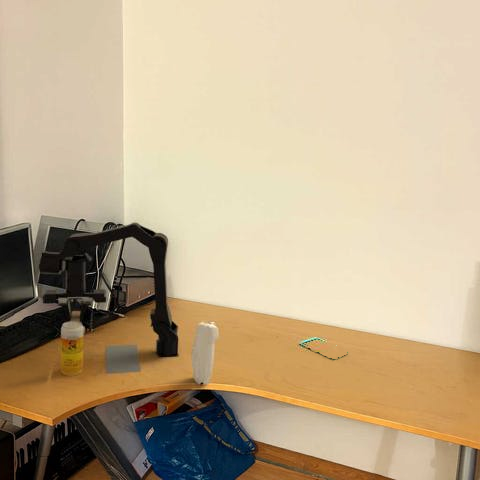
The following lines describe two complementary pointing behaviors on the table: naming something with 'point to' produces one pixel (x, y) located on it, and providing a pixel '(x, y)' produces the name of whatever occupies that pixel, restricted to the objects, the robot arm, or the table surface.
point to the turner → (76, 318)
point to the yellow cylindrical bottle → (71, 348)
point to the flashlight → (204, 351)
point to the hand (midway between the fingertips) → (75, 322)
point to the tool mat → (122, 359)
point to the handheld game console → (310, 340)
